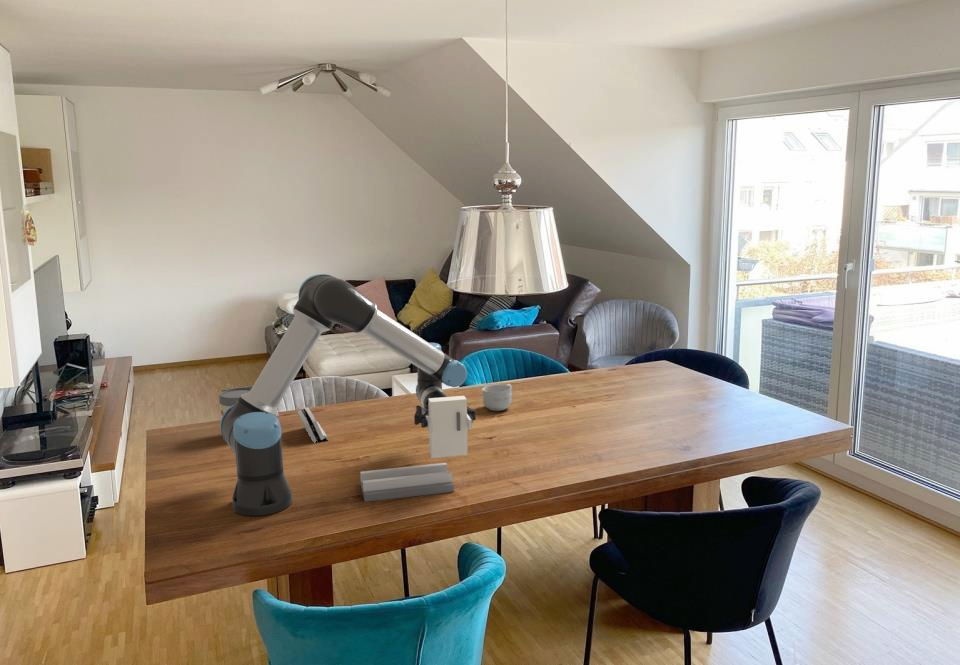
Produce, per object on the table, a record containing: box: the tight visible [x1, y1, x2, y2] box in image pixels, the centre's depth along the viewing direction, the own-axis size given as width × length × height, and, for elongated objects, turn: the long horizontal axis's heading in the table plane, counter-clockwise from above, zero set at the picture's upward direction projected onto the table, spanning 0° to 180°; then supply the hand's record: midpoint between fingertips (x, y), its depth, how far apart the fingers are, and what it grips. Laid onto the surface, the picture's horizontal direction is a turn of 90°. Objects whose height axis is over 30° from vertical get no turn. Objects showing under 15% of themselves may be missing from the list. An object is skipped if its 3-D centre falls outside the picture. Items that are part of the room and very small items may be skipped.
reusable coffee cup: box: [219, 386, 252, 417], centre depth 251 cm, size 13×13×15 cm
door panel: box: [428, 395, 468, 459], centre depth 210 cm, size 10×4×16 cm, turn 104°
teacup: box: [481, 383, 513, 412], centre depth 279 cm, size 14×11×8 cm
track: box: [359, 462, 455, 503], centre depth 210 cm, size 24×12×4 cm, turn 104°
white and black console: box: [297, 406, 329, 443], centre depth 253 cm, size 17×5×10 cm, turn 23°
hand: (451, 426), depth 206 cm, fingers closed on door panel, 10 cm apart
